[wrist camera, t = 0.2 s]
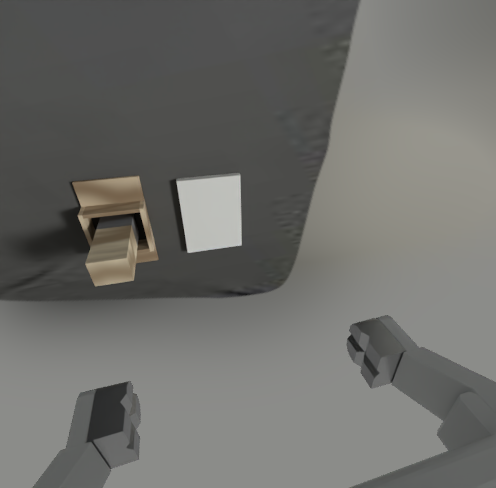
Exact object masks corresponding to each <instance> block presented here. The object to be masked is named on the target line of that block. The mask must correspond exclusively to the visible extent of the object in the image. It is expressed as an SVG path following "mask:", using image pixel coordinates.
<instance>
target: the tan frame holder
mask: <svg viewBox="0 0 496 488" xmlns="http://www.w3.org/2000/svg"><path fill="white" fill-rule="evenodd" d="M72 184H73V187H74V189H75V192H76V194H77V197H78V200H79V202H80V205H81V209H80V211H79V214H78V218H79V221H80V223H81V225H82V228H83V230H84V233H85V235H86V238H87V240H88V243H89V245H90V248H91V245H92V241H93V238H94V235H95V232H96V230H95V228H94V225H93V222H92V220H91V218H94V217H103V216H112V215H121V214H130V213H138V212H140V214H141V218H142V222H143V226H144V230H145V234H146V238H147V239H143V240H138V247H137V256H136V263H140V262H147V261H154V260H158V255H157V251H156V246H155V242H154V238H153V234H152V230H151V225H150V221H149V217H148V213H147V209H146V204H145V200H144V196H143V192H142V187H141V183H140V179H139V175H138V176H127V177H116V178H106V179H95V180H84V181H73V182H72Z"/></svg>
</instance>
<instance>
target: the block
mask: <svg viewBox="0 0 496 488" xmlns="http://www.w3.org/2000/svg"><path fill="white" fill-rule="evenodd" d="M138 238H139V230H138V227H137V223H136V219H135V216H134V213H130V214H121V215H112V216H103V217H100V219H99V223H98V226H97V229H96V232H95V235H94V238H93V241H92V245H91V248H90V251H89V254H88V257H87V260H86V263H85V264H86V266H87V269H88V271H89V273H90V276H91V278H92V280H93V283H94V285H95V286H101V285H107V284H114V283H120V282H127V281H134V274H135V265H136V256H137V247H138Z"/></svg>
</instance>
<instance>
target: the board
mask: <svg viewBox="0 0 496 488" xmlns="http://www.w3.org/2000/svg"><path fill="white" fill-rule="evenodd" d="M176 182H177V188H178V194H179V201H180V207H181V213H182V220H183V226H184V232H185V238H186V245H187V251H188V253H191V252H198V251H205V250H212V249H219V248H226V247H233V246H240V245H242V239H241V187H240V174H239V173H231V174H221V175H210V176H200V177H189V178H179V179H176Z"/></svg>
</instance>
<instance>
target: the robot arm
mask: <svg viewBox="0 0 496 488" xmlns="http://www.w3.org/2000/svg"><path fill="white" fill-rule="evenodd" d="M349 331H350V332H351V335H350V336H349V337H348V339H347V349H348V352H349V355H350V357H351V359H352V360H353V362H354V363H356V364H357V365H359V366H361V374H362V376H363V377H364V378H365V380H366V382H367V383H368V385H369V386H370V388H375V387H379V386H382V385H386V384H390V383H392V385H393V386H395V387H396V388H397V389H399V390H400V391H402V392H403V393H404V394H406V395H407V396H409V397H410V398H412V399H413V400H415V401H416V402H417V403H419V404H420V405H422V406H423V407H424V408H426V409H428V410H429V411H430V412H432V413H433V414H434V415H436V416H437V417H439V418H440V419H441V420H443V423H442V425H441V426H440V428H439V429H438V432H437V436H438V437H439V438H440V440H441V441H442V442H443V444H444V445H445V446H446V448H447V449H448V451H447V452H444V453H441V454H439V455H436V456H434V457H431V458H428V459H426V460H423V461H420V462H417V463H415V464H412V465H409V466H406V467H404V468H401V469H398V470H396V471H393V472H390V473H388V474H385V475H383V476H380V477H377V478H375V479H372V480H369V481H367V482H364V483H361V484H358V485H355V486H353V487H350V488H496V382H494V381H492V380H490V379H488V378H486V377H484V376H482V375H480V374H478V373H475V372H474V371H471V370H469V369H467V368H465V367H463V366H461V365H459V364H457V363H455V362H453V361H451V360H448V359H447V358H445V357H442V356H440V355H438V354H436V353H434V352H432V351H430V350H428V349H426V348H424V347H421V348H419V347H418V346H417V345H416V344H415V342H414V341H413V340H412V339H411V338H410V337H409V336H408V335H407V334H406V333H405V332H404V331H403V329H401V327H400V326H399V325H398V324H397V323H396V322H395V321H394V320H393V318H392V317H390V316H388V315H385V316H381V317H378V318H372V319H369V320H365V321H361V322H358V323H354V324H352V325H351V326H350V329H349ZM140 416H141V414H140V403H139V399H138V396H137V394H135V393H133V385H132V383H131V381H128V382H124V383H119V384H115V385H111V386H107V387H103V388H98V389H94V390H90V391H86V392H82V393H80V394H79V396H78V398H77V401H76V406H75V411H74V415H73V419H72V423H71V428H70V432H69V437H68V441H67V445H66V449H63V450H61V451H60V452H59V453H58V454H57V456H56V457H55V458H54V460H53V461H52V462H51V464H50V465H49V467H48V468H47V469H46V471H45V472H44V473H43V474H42V476H41V477H40V478H39V480H38V481H37V482H36V484H35V485H34V486H33V488H102V487H103V486H104V484H105V482H106V480H107V478H108V476H109V474H110V472H111V469H112V468H115V467H118V466H120V465H124V464H127V463H130V462H133V461H136V460H138V459H139V443H140V436H139V434H138V432H137V430H136V429H137V428H138V426H139V424H140Z"/></svg>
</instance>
